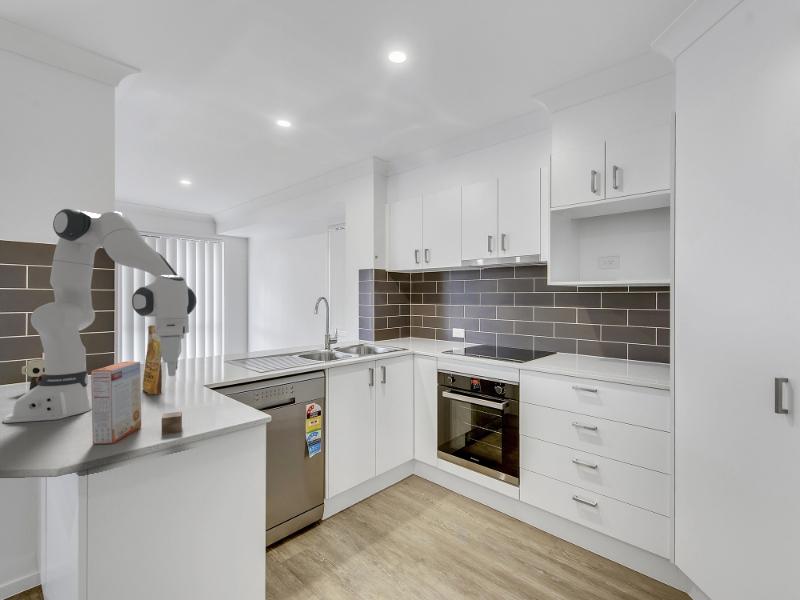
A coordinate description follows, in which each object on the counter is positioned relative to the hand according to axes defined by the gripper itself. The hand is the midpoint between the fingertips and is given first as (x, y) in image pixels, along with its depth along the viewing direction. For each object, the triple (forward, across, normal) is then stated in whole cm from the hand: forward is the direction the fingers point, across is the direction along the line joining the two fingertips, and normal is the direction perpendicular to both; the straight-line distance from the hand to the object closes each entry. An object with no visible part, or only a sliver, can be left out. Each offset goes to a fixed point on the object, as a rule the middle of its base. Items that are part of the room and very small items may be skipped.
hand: (173, 372), depth 119 cm
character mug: (+17, -80, -55) cm, 99 cm away
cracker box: (+18, -2, -15) cm, 23 cm away
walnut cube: (+18, 0, -1) cm, 18 cm away
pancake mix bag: (+18, -59, -11) cm, 63 cm away
